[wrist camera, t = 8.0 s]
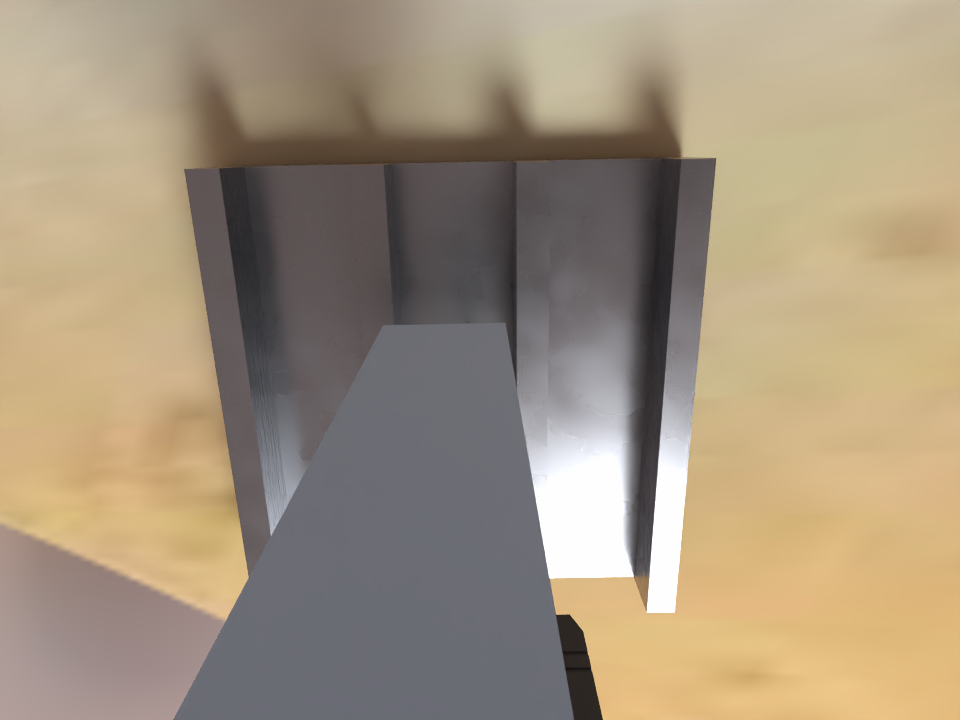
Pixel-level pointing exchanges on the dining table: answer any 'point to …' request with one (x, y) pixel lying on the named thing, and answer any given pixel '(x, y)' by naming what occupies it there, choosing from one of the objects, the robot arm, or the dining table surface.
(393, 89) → the dining table surface
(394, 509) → the panel
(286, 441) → the rack
